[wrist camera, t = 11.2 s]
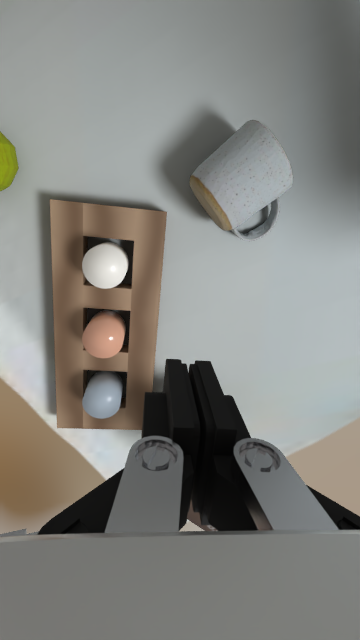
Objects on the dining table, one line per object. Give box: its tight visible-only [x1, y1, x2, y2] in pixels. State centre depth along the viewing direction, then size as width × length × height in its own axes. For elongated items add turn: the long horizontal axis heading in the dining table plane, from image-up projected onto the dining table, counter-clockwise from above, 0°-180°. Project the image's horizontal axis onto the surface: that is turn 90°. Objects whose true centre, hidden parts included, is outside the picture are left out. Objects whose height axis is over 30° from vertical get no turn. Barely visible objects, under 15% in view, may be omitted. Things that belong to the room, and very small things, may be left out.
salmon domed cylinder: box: [82, 310, 126, 358], centre depth 35 cm, size 4×4×4 cm
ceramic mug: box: [190, 120, 293, 241], centre depth 31 cm, size 11×8×8 cm
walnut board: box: [50, 199, 167, 430], centre depth 37 cm, size 12×28×2 cm, turn 174°
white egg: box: [82, 242, 129, 289], centre depth 33 cm, size 4×4×4 cm
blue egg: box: [82, 371, 123, 419], centre depth 38 cm, size 4×4×4 cm
